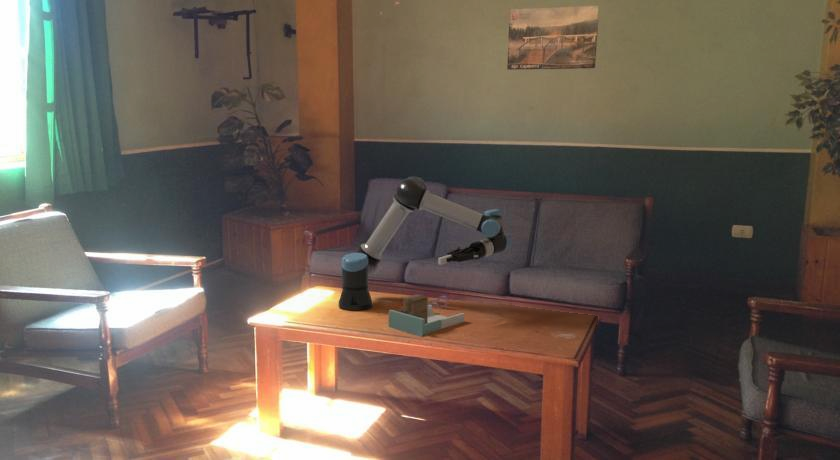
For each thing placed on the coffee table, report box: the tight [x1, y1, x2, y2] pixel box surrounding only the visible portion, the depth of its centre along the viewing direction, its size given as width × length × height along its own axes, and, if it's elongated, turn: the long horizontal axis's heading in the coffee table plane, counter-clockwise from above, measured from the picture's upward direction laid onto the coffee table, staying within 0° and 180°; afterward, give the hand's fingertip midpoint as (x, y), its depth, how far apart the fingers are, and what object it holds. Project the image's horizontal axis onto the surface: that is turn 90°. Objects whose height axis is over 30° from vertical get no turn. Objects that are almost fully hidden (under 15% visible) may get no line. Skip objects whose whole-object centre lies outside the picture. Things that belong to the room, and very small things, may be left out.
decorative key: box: [428, 295, 450, 310], centre depth 320 cm, size 7×1×20 cm
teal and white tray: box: [388, 304, 465, 338], centre depth 294 cm, size 19×25×7 cm
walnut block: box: [402, 293, 429, 324], centre depth 289 cm, size 6×8×12 cm
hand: (439, 261), depth 301 cm, fingers closed
